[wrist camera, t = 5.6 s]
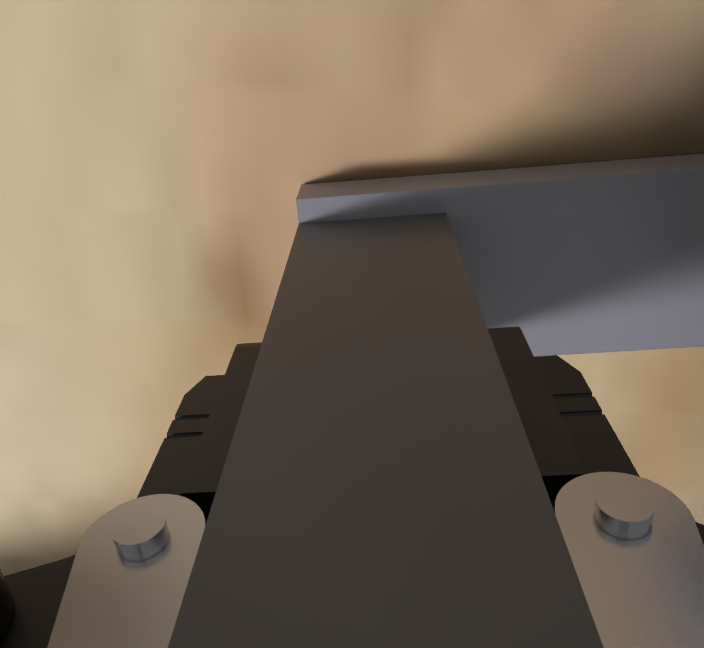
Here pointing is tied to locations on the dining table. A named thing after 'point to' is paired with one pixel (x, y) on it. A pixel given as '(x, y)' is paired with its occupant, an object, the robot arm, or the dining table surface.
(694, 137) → the dining table surface
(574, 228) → the grey l-shaped bracket
